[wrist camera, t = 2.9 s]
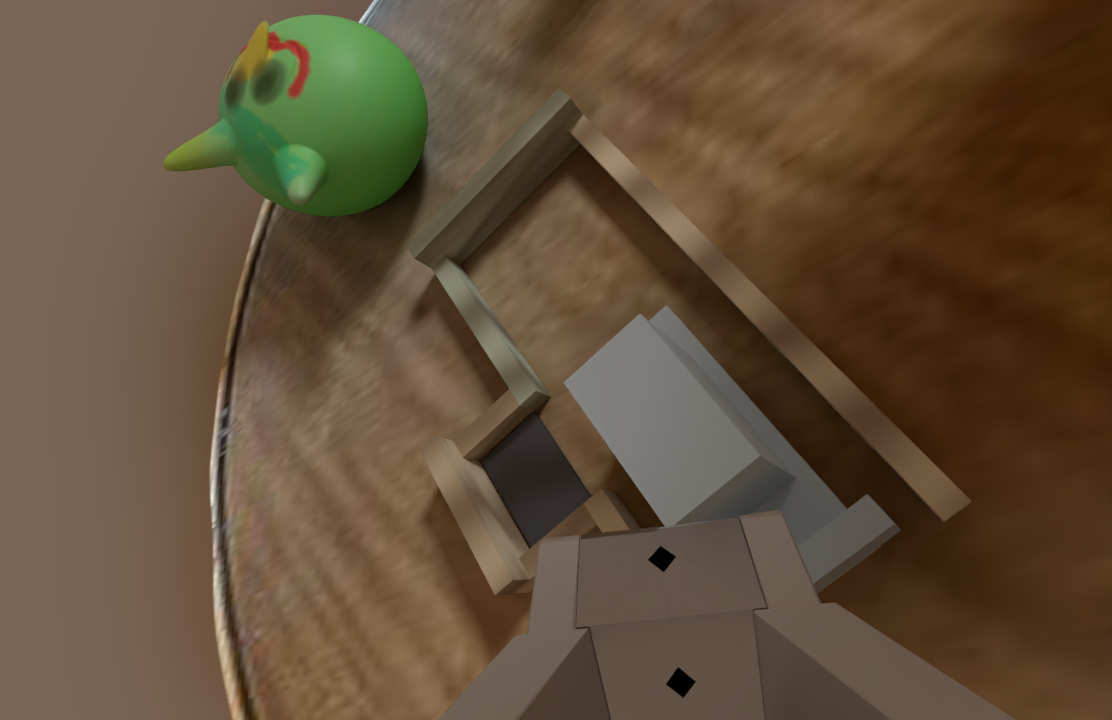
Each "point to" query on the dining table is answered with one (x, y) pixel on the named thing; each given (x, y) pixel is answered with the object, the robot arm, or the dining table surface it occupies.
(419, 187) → the dining table surface
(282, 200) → the toy bird
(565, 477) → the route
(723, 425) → the bookend block
